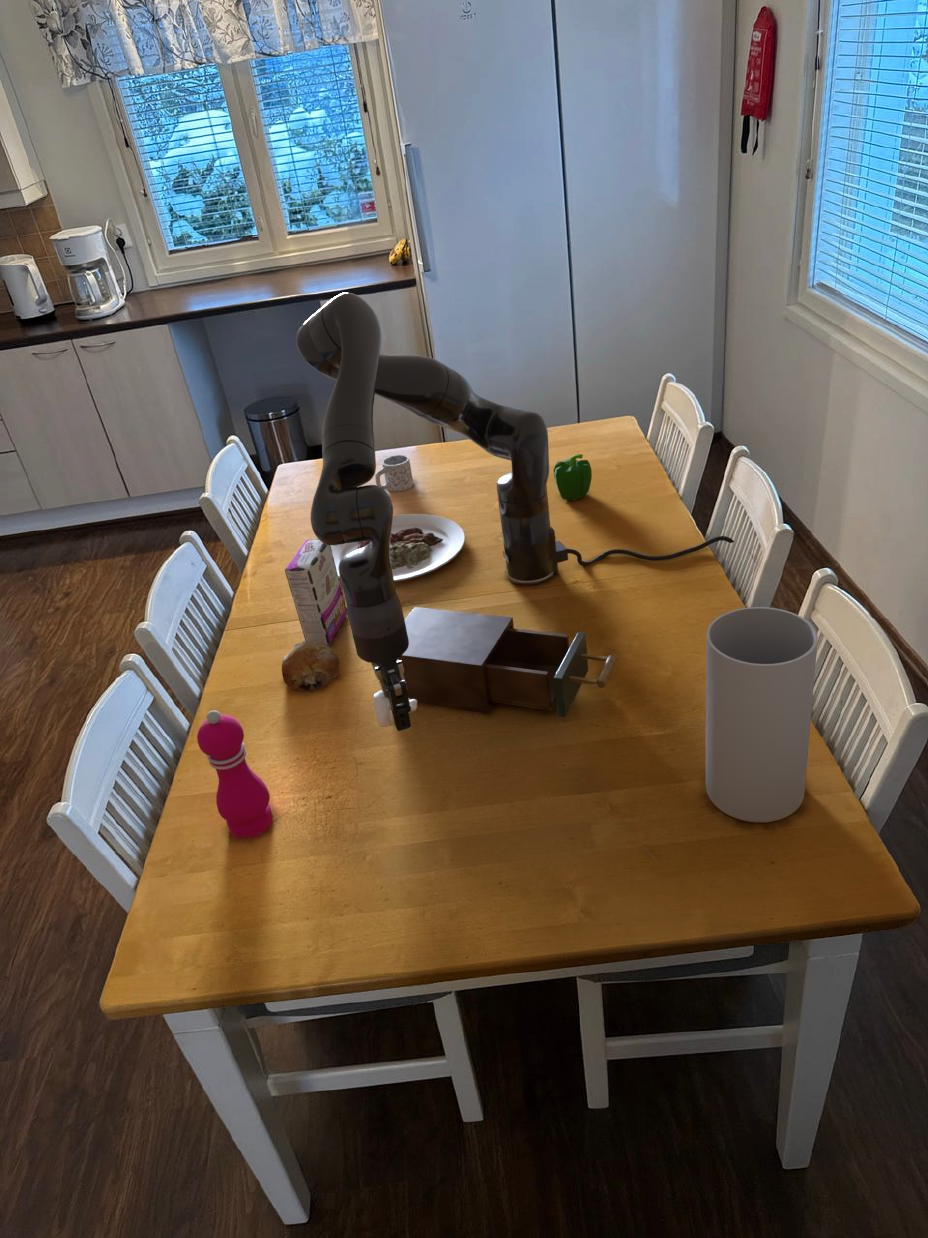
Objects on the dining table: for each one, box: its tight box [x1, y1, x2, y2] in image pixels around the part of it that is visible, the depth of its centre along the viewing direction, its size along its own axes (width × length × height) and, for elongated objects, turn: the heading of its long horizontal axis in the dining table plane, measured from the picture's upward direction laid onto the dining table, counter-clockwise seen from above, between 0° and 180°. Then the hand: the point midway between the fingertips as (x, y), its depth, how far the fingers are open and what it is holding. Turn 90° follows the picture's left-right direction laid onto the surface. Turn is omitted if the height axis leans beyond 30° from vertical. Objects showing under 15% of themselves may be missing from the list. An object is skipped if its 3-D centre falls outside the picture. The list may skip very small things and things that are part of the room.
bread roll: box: [281, 641, 340, 692], centre depth 157 cm, size 10×10×8 cm
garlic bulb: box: [373, 689, 418, 728], centre depth 134 cm, size 6×6×5 cm
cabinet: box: [399, 606, 515, 715], centre depth 149 cm, size 18×14×9 cm
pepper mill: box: [196, 709, 274, 840], centre depth 123 cm, size 7×7×20 cm
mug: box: [374, 454, 414, 492], centre depth 221 cm, size 10×7×7 cm, turn 132°
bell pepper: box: [553, 453, 593, 501], centre depth 202 cm, size 8×8×10 cm
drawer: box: [484, 627, 618, 719], centre depth 142 cm, size 22×13×7 cm, turn 67°
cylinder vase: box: [704, 606, 819, 824], centre depth 114 cm, size 12×12×25 cm
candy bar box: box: [284, 538, 348, 646], centre depth 166 cm, size 11×5×16 cm, turn 168°
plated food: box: [330, 513, 466, 583], centre depth 192 cm, size 30×30×3 cm
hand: (398, 716), depth 135 cm, fingers closed on garlic bulb, 5 cm apart
